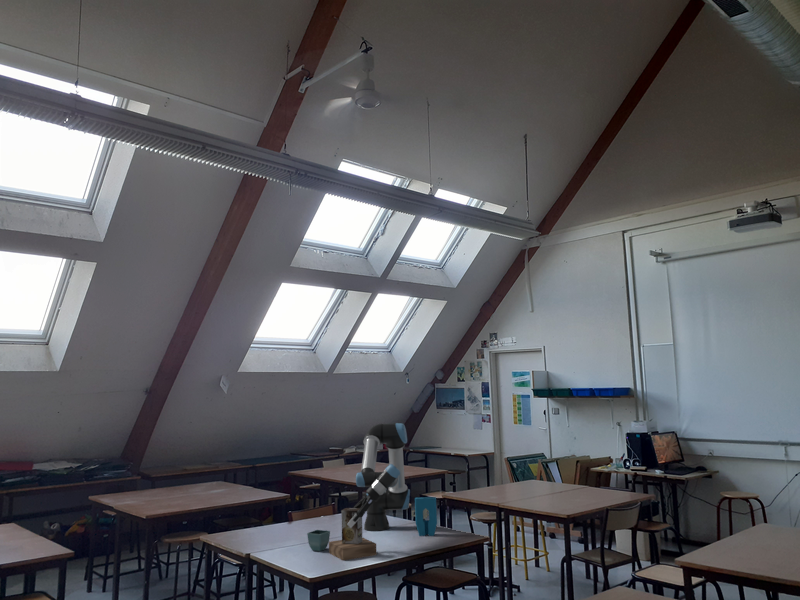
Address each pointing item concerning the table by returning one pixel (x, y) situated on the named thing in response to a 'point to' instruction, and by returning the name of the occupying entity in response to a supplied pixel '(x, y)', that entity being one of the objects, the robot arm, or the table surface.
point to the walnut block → (352, 549)
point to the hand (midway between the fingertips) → (347, 523)
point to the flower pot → (318, 539)
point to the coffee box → (355, 532)
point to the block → (429, 525)
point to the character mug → (423, 514)
